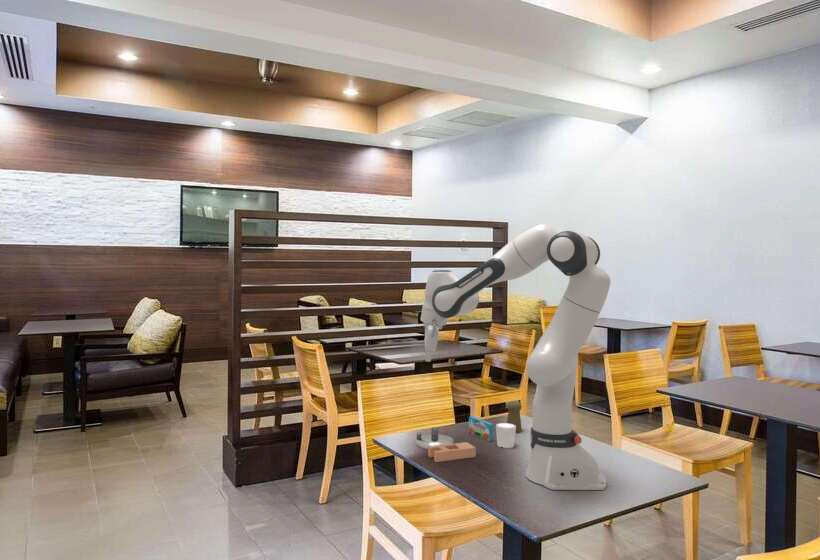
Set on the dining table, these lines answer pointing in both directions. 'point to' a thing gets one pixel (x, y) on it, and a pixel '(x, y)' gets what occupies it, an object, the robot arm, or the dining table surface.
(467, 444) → the orange letter a block
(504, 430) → the white cylindrical downlight
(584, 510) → the dining table surface
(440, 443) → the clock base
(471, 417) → the blue printed cardboard box
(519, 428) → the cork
